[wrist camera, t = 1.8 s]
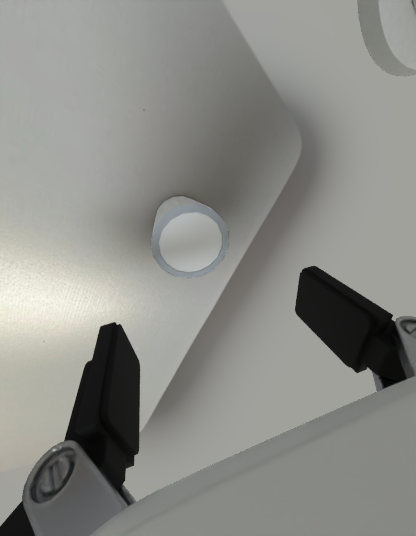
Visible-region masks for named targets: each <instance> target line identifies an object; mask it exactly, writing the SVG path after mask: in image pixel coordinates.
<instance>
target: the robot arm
mask: <svg viewBox="0 0 416 536" xmlns="http://www.w3.org/2000/svg"><path fill="white" fill-rule="evenodd" d="M412 1H413V4H414V7H415V10H416V0H412ZM295 311H296V314H297V315H298V316H299V317H300V318H301V320H303V322H304V323H305V324H307V326H308V327H309V328H310V329H311V330H312V331H313V332H314V333H315V334H316V335H317V336H318V337H319V338H320V339H321V340H322V341H323V342H324V343H325V344H326V345H327V346H328V347H329V348H330V349H331V350H332V351H333V352H334V353H335V354H336V355H337V356H338V357H339V358H340V359H341V360H342V362H343V363H344V364H345V365H347V366H348V367H351V368H352V369H353V370H354V371H355V372H356V373H359V372H361V371H363V370H366V369H367V367H368V368H369V369H370V370H372V373H373V377H374V381H375V385H376V390H377V392H375V393H373V394H371V395H369V396H366V397H364V398H362V399H359V400H357V401H355V402H353V403H350V404H348V405H346V406H343V407H341V408H339V409H336V410H334V411H332V412H330V413H327V414H325V415H323V416H321V417H318V418H316V419H314V420H312V421H310V422H307V423H305V424H303V425H300V426H298V427H296V428H294V429H291V430H289V431H287V432H284V433H282V434H280V435H278V436H275V437H273V438H271V439H269V440H266V441H264V442H262V443H260V444H258V445H255V446H253V447H251V448H249V449H246V450H244V451H242V452H240V453H238V454H235V455H233V456H231V457H229V458H227V459H224V460H222V461H220V462H217V463H216V464H214V465H211V466H209V467H206V468H204V469H202V470H200V471H198V472H196V473H193V474H191V475H189V476H187V477H185V478H183V479H181V480H179V481H177V482H174V483H173V484H170V485H168V486H166V487H164V488H162V489H160V490H158V491H156V492H154V493H152V494H150V495H148V496H146V497H145V498H143V499H141V500H139V501H137V502H136V500H135V499H134V498H133V497H132V495H131V494H130V493H129V491H128V490H127V489H126V488H125V486H124V485H123V482H124V481H125V471H126V468H129V467H131V466H134V455H136V454H138V451H139V407H140V364H139V360H138V358H137V356H136V354H135V352H134V350H133V348H132V346H131V344H130V342H129V340H128V338H127V336H126V334H125V332H124V330H123V328H122V326H121V324H119V325H117V324H116V323H115V322H114V323H110V324H107V325H103V326H101V327H100V330H99V334H98V338H97V342H96V346H95V350H94V355H93V359H92V360H91V361H89V362H87V363H86V365H85V367H84V371H83V374H82V378H81V382H80V385H79V389H78V393H77V396H76V400H75V404H74V407H73V411H72V415H71V418H70V422H69V426H68V429H67V433H66V436H65V440H64V442H60V443H59V444H57V445H55V446H53V447H52V448H51V449H50V450H48V451H47V452H46V453H45V454H44V455H43V456H42V457H41V458H40V460H39V461H38V462H37V463H36V464H35V466H34V468H33V469H32V471H31V472H30V474H29V476H28V478H27V481H26V483H25V486H24V490H23V496H22V502H21V503H20V504H19V505H18V506H17V508H16V509H15V510H14V511H13V512H12V514H11V515H10V516H9V517H8V518H7V519H6V521H5V522H4V523H3V524H2V525H1V526H0V536H416V317H411V316H403V317H399V318H397V319H396V321H395V322H394V321H393V320H391V319H392V316H393V315H392V314H390V313H389V312H387V311H386V310H384V309H382V308H381V307H379V306H378V305H376V304H375V303H373V302H372V301H370V300H368V299H367V298H365V297H363V296H362V295H360V294H359V293H357V292H356V291H354V290H353V289H351V288H349V287H348V286H346V285H345V284H343V283H342V282H340V281H338V280H336V279H335V278H333V277H332V276H330V275H328V274H327V273H326V272H324V271H323V270H321V269H319V268H318V267H316V266H311V267H308V268H305V269H303V270H302V272H301V273H300V278H299V285H298V292H297V299H296V306H295Z"/></svg>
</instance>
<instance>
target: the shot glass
mask: <svg viewBox="0 0 416 536" xmlns="http://www.w3.org/2000/svg"><path fill="white" fill-rule="evenodd" d="M151 246H152V252H153V257H154V258H155V260H156V261H157V263H158V264H159V265H160V267H161V268H162V269H163V270H165V271H167V272H168V273H170V274H172V275H173V276H178V277H183V278H192V277H198V276H202V275H204V274H206V273H208V272H209V271H211V270H213V269H214V268H215V267H216V266H217V265H218V264H219V263H220V262H221V261H222V260H223V258H224V256H225V253H226V251H227V249H228V246H229V231H228V229H227V227H226V224H225V222H224V219H223V218H222V217H221V216H220V215H219V214H217V213H216V212H215V211H214V210H213V209H212V208H210V207H207V206H205V205H203V204H201V203H199V202H197V201H195V200H193V199H190V198H187V197H184V196H177V197H171V198H170V199H168V200H166V201H164V202H163V203H162V205H161V206H160V207H159V208H158V210H157V214H156V218H155V222H154V228H153V233H152V238H151Z"/></svg>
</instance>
